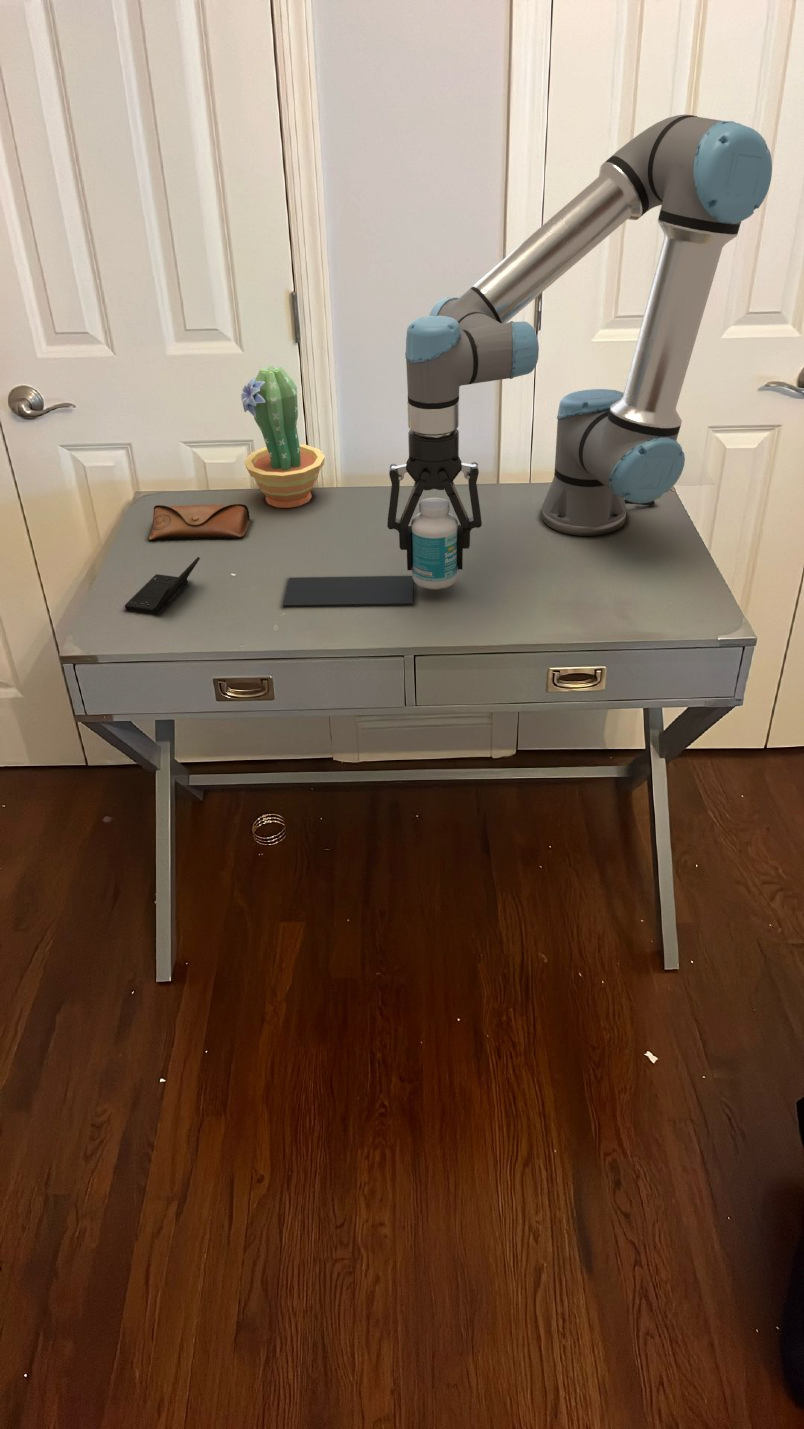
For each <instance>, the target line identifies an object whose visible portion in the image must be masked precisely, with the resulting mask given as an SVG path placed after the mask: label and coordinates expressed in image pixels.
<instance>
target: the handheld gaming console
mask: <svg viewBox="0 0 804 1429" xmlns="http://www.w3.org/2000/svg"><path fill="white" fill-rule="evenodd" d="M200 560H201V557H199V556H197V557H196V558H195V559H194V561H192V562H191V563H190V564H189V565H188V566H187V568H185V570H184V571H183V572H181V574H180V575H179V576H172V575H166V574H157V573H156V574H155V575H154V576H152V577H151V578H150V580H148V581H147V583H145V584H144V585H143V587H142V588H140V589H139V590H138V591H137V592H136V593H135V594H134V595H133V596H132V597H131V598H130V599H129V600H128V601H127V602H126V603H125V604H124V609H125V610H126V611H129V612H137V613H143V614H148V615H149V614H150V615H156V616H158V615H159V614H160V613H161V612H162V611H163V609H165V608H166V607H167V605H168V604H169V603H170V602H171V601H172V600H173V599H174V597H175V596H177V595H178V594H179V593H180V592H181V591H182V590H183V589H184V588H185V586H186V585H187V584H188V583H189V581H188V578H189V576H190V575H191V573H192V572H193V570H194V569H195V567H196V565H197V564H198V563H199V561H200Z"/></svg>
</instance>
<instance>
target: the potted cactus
mask: <svg viewBox="0 0 804 1429" xmlns="http://www.w3.org/2000/svg"><path fill="white" fill-rule="evenodd" d="M241 391H242V392H241V394H240V396H241V403H242V408H243V412H244V413H247V412H249V413H250V414H251V415H252V416H253V419H254V421H255V423H256V424H257V426H258V428H259V430H260V432H261V434H262V437H263V440H264V443H265V446H264V447H261V448H259V449H257V450H255V451H252V452H250V453H249V455H247V457H246V458H245V459H244V460H243V462H244V465H245V468H246V470H247V472H248V474H249V477H251V478H253V479H254V480H255V482H256V485H257V487H258V489H259V490H260V491H261V493H263V494H264V495H265V501H266V504H268V505H270V506H272V507H275V508H286V509H289V508H294V507H300V506H302V505H305V504H307V503H309V502H310V500H311V498H312V497H313V496H312V493H311V491H312V489H313V487H314V486H315V485H316V483H317V481H318V478H319V476H320V475H319V474H320V471H321V470H322V468H323V467H324V465H325V459H326V456H325V455H324V453H323V452H322V450H321V449H320V448H316V447H314V446H310V445H308V444H304V443H303V444H301V443H300V440H299V434H298V428H297V426H298V417H299V410H298V409H299V408H298V407H299V406H298V387H297V385H296V383H295V382H294V379H292V377H291V376H290V375H289V374H288V373H287V372H286V371H285V370H284V368H282V366H278V367H276V368H275V367H274V366H273V365H269V366H268V367H267V369H265V368H260V369H259V371H258V373H257V375H256V377H253V378H252V379H250V380H249V381H248V383H246V384H245V385H244V386H243V388H242V390H241Z"/></svg>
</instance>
